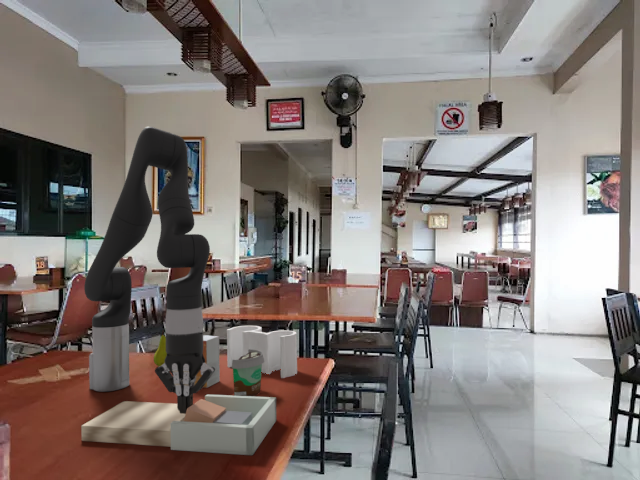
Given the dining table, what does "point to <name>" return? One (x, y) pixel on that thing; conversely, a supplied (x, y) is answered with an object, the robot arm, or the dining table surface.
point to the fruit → (161, 352)
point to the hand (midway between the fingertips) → (185, 412)
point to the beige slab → (134, 424)
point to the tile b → (234, 418)
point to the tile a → (203, 412)
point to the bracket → (264, 348)
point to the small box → (211, 359)
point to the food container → (248, 373)
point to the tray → (227, 427)
